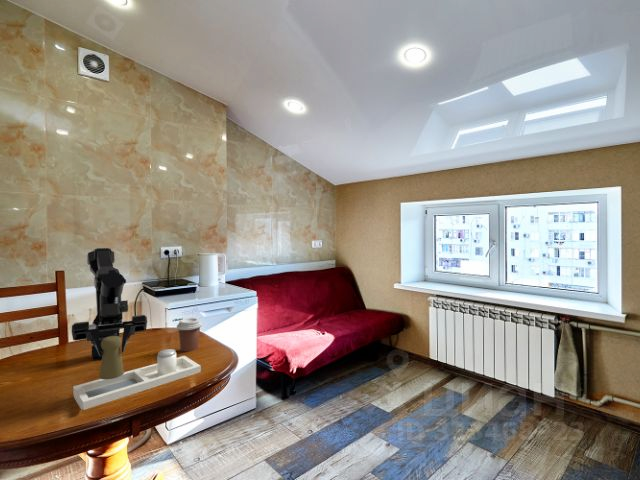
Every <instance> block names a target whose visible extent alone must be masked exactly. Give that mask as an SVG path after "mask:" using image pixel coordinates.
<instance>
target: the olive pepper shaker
mask: <svg viewBox="0 0 640 480" xmlns="http://www.w3.org/2000/svg"><path fill="white" fill-rule="evenodd" d="M122 339H123V338H122V337H121V336H120V335H119V336H109V337H106V338H104V339H103V340H102V341H101V348H102V349H103V355H102V359H101V363H100V371H99V379H114V378H117V377H120V376H121V375H123V374H124V372H125V370H124V364H123V358H122V350H121V347H122Z"/></svg>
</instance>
